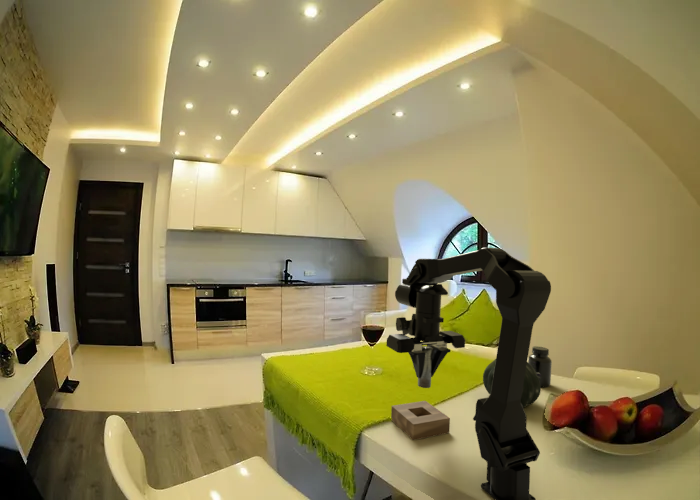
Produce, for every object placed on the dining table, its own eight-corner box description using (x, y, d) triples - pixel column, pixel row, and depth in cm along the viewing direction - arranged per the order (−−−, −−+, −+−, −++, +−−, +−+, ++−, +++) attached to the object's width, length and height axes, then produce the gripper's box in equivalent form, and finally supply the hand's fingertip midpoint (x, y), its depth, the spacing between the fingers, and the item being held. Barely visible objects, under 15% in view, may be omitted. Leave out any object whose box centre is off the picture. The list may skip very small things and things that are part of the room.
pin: (433, 387, 83) (435, 349, 83) (422, 388, 82) (424, 350, 82) (425, 382, 86) (427, 345, 86) (415, 383, 85) (417, 346, 84)
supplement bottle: (529, 386, 115) (530, 349, 115) (525, 379, 122) (526, 344, 122) (553, 389, 113) (554, 351, 113) (547, 382, 120) (549, 346, 120)
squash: (499, 369, 115) (489, 339, 107) (550, 384, 104) (542, 352, 97) (483, 407, 107) (470, 378, 100) (535, 427, 97) (526, 396, 89)
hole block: (449, 432, 83) (449, 417, 83) (412, 440, 79) (413, 424, 79) (424, 414, 92) (425, 400, 92) (391, 419, 88) (391, 405, 88)
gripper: (439, 304, 95) (436, 362, 95) (377, 306, 87) (374, 369, 88) (468, 313, 84) (464, 377, 85) (400, 315, 77) (397, 386, 77)
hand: (424, 377), depth 84 cm, fingers closed on pin, 3 cm apart
